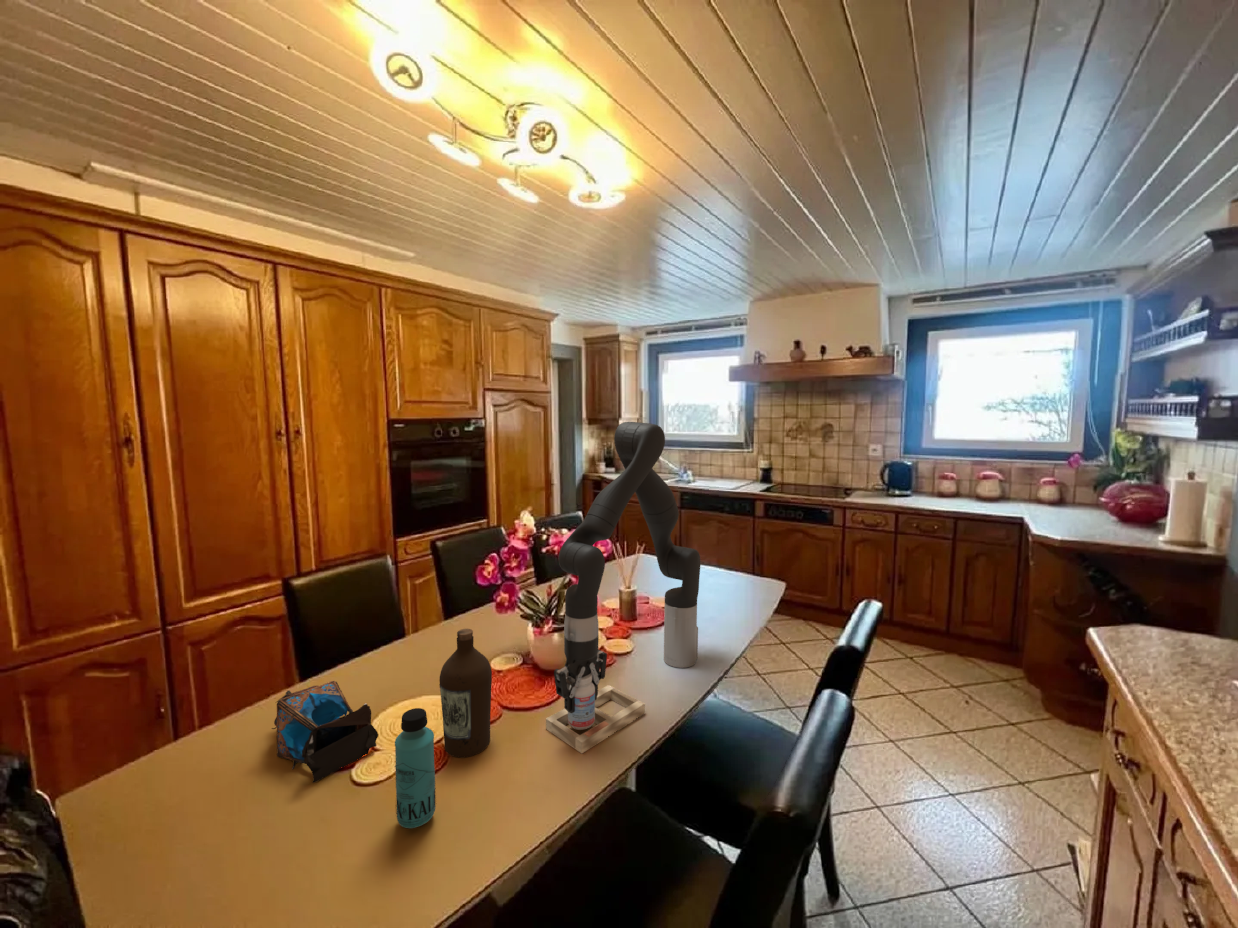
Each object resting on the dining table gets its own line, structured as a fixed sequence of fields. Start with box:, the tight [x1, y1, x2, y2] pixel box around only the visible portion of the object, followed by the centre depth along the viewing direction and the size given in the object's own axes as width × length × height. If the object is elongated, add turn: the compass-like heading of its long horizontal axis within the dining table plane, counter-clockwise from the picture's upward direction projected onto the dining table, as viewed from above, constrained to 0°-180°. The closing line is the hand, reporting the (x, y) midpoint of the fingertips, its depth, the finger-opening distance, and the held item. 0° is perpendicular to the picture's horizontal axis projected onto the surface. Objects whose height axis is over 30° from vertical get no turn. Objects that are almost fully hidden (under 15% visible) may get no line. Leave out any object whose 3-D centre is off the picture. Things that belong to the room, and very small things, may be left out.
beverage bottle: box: [394, 707, 437, 829], centre depth 87 cm, size 6×7×20 cm
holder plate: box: [545, 684, 646, 754], centre depth 118 cm, size 20×12×3 cm, turn 136°
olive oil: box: [438, 628, 493, 758], centre depth 108 cm, size 11×11×25 cm
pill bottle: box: [568, 673, 595, 731], centre depth 114 cm, size 6×6×11 cm
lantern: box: [271, 680, 379, 784], centre depth 107 cm, size 16×16×25 cm
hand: (581, 705), depth 114 cm, fingers closed on pill bottle, 6 cm apart
